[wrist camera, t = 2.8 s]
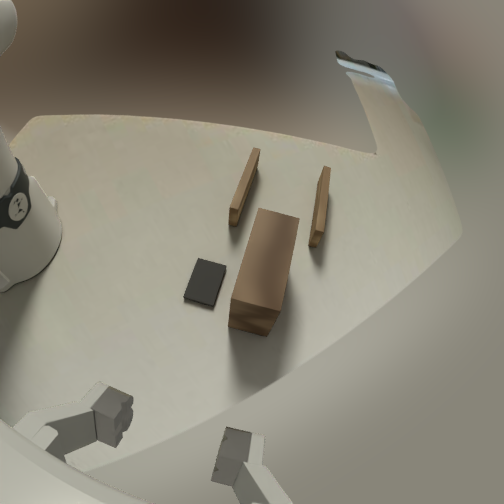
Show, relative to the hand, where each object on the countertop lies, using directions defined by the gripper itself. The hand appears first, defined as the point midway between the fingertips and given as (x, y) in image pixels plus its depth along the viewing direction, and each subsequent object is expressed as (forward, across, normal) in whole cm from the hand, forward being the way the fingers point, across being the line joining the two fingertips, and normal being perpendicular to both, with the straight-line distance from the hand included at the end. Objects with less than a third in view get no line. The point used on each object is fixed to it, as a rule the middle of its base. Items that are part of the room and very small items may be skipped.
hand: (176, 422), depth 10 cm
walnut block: (+30, -2, +4) cm, 31 cm away
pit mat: (+30, +5, +5) cm, 30 cm away
